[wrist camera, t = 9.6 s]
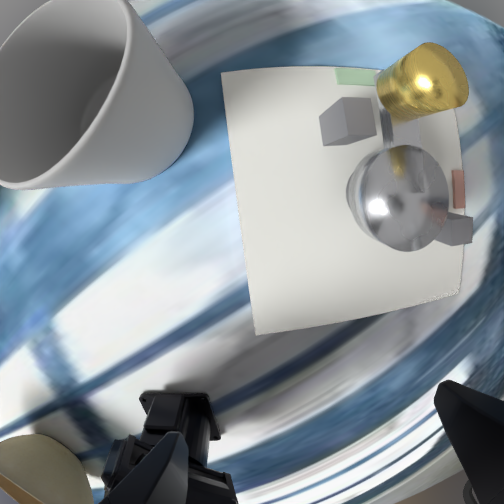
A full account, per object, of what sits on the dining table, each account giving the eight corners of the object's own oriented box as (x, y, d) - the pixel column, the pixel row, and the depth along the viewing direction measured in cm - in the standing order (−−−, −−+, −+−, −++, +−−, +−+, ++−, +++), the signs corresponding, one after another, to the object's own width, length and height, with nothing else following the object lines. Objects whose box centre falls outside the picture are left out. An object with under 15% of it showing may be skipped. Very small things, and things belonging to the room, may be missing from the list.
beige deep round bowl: (86, 488, 29) (68, 535, 17) (6, 424, 25) (-24, 466, 13) (133, 477, 26) (114, 543, 14) (26, 393, 23) (-20, 452, 11)
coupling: (426, 239, 15) (492, 265, 9) (350, 246, 15) (404, 283, 9) (414, 86, 13) (476, 59, 7) (335, 76, 13) (380, 28, 7)
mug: (193, 58, 16) (149, -42, 5) (198, 175, 18) (135, 167, 7) (53, 97, 15) (-44, 67, 5) (53, 198, 18) (-56, 221, 7)
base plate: (453, 290, 20) (491, 313, 15) (255, 329, 20) (258, 374, 15) (442, 84, 16) (483, 69, 11) (221, 77, 16) (213, 41, 11)
